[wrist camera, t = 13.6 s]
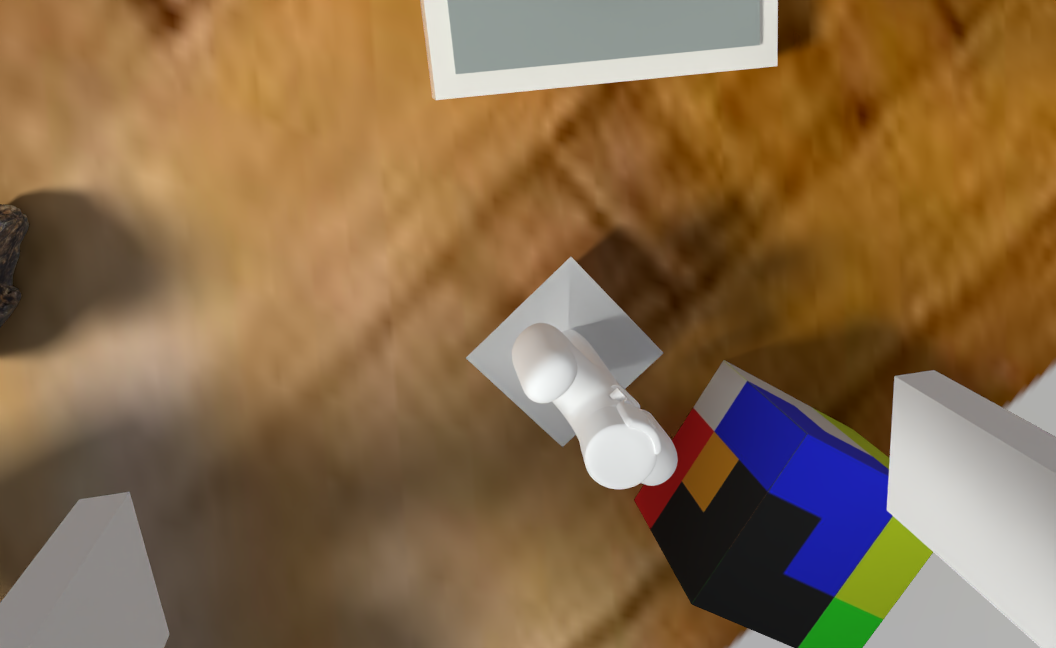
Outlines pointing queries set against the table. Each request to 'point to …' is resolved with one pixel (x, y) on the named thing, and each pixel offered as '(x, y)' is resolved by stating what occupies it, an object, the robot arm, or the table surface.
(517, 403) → the figurine
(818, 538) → the puzzle toy
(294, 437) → the table surface
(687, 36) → the plinth
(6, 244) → the statue
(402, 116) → the table surface
